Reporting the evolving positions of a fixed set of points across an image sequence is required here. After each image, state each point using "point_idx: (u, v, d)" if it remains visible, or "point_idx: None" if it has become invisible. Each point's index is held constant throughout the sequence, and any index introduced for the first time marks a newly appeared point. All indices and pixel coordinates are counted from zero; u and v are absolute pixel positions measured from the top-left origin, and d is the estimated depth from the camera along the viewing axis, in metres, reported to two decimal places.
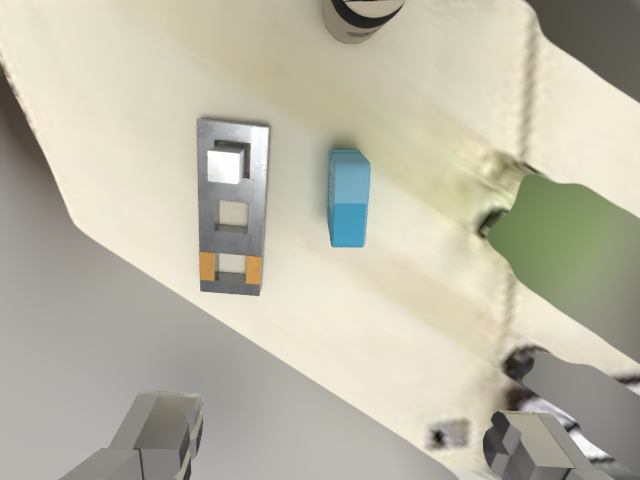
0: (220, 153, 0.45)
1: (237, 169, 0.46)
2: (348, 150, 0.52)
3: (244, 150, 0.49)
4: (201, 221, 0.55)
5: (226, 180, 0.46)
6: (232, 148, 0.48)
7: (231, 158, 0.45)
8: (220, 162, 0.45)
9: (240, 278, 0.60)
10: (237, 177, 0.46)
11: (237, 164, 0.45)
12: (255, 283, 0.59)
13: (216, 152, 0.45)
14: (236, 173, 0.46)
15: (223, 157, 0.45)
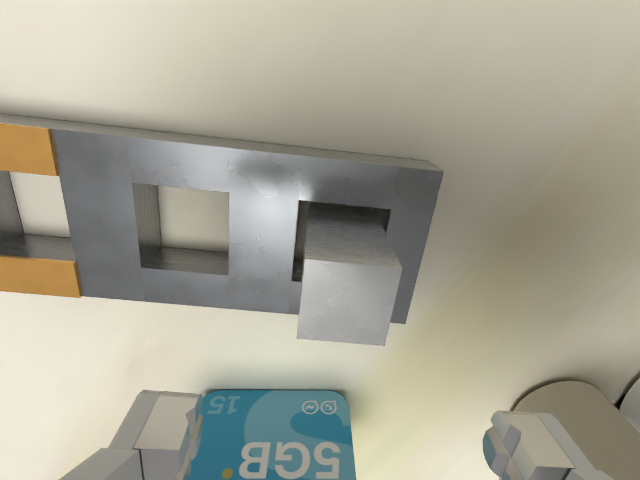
0: (390, 301, 0.15)
1: (340, 338, 0.16)
2: None
3: None
4: (155, 147, 0.18)
5: (307, 310, 0.15)
6: None
7: (373, 327, 0.15)
8: (364, 299, 0.15)
9: None
10: (317, 337, 0.16)
11: (355, 340, 0.16)
12: None
13: (394, 291, 0.15)
14: (329, 336, 0.16)
15: (377, 307, 0.15)
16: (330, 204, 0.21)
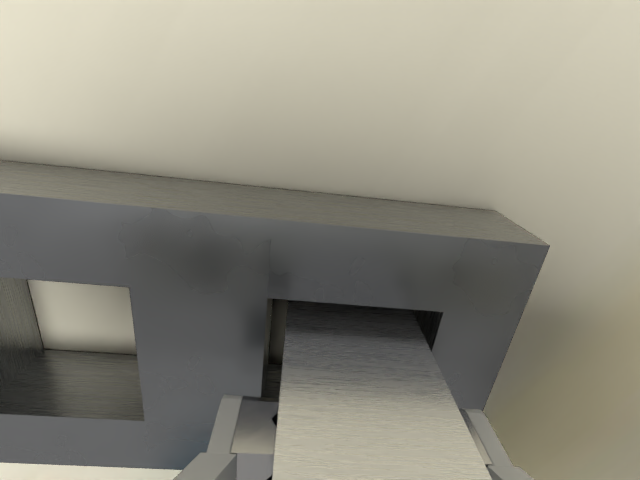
0: None
1: None
2: None
3: None
4: None
5: None
6: None
7: None
8: None
9: None
10: None
11: None
12: None
13: None
14: None
15: None
16: None
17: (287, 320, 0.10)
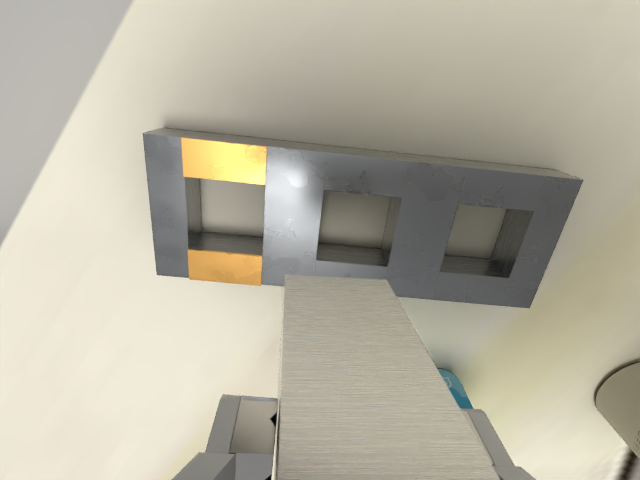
0: None
1: None
2: None
3: None
4: (349, 161, 0.22)
5: None
6: None
7: None
8: None
9: (193, 226, 0.25)
10: None
11: None
12: (190, 270, 0.25)
13: None
14: None
15: None
16: (322, 293, 0.12)
17: (284, 321, 0.10)
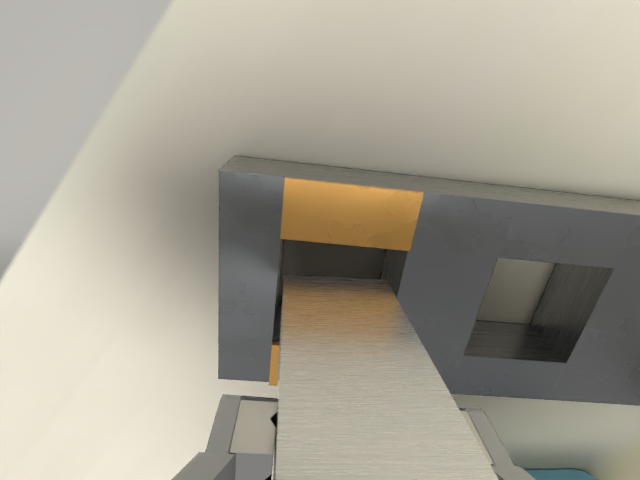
0: None
1: None
2: None
3: None
4: (547, 215, 0.14)
5: None
6: None
7: None
8: None
9: (276, 304, 0.17)
10: None
11: None
12: (272, 372, 0.16)
13: None
14: None
15: None
16: (321, 293, 0.12)
17: (283, 321, 0.10)
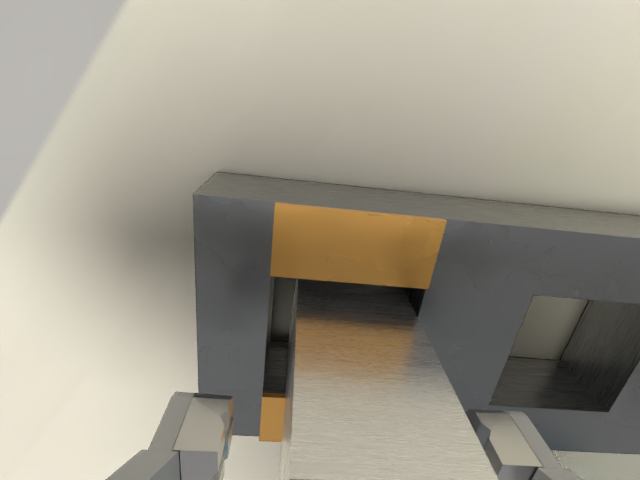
0: None
1: None
2: None
3: None
4: (596, 245, 0.11)
5: None
6: None
7: None
8: None
9: (267, 346, 0.14)
10: None
11: None
12: (263, 426, 0.14)
13: None
14: None
15: None
16: None
17: (298, 299, 0.12)
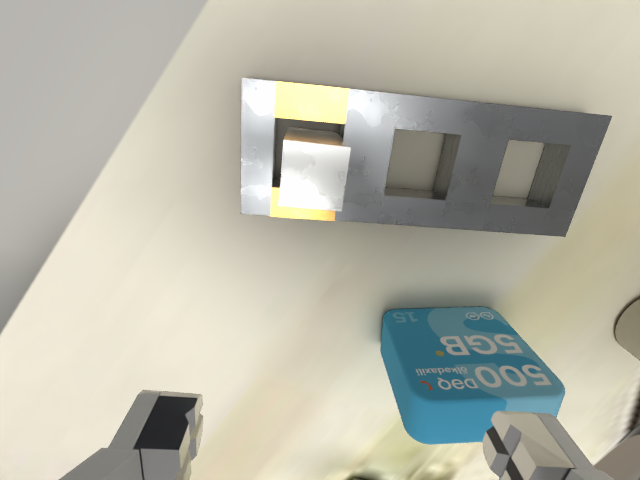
0: (343, 174, 0.21)
1: (310, 205, 0.22)
2: None
3: None
4: (418, 101, 0.26)
5: (286, 181, 0.21)
6: None
7: (332, 195, 0.22)
8: (325, 172, 0.21)
9: (273, 169, 0.28)
10: (293, 204, 0.22)
11: (320, 206, 0.22)
12: (272, 207, 0.28)
13: (346, 165, 0.21)
14: (301, 203, 0.22)
15: (335, 179, 0.21)
16: (304, 130, 0.27)
17: (287, 130, 0.26)
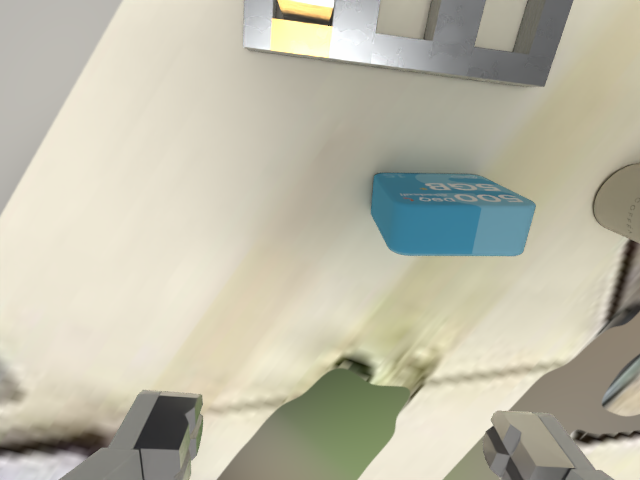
0: None
1: (304, 0, 0.24)
2: None
3: (327, 18, 0.28)
4: None
5: None
6: None
7: None
8: None
9: (274, 6, 0.31)
10: None
11: (314, 1, 0.24)
12: (272, 40, 0.30)
13: None
14: None
15: None
16: None
17: None
